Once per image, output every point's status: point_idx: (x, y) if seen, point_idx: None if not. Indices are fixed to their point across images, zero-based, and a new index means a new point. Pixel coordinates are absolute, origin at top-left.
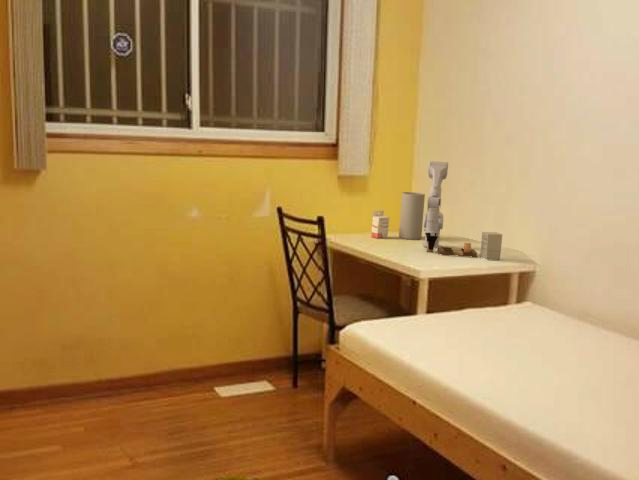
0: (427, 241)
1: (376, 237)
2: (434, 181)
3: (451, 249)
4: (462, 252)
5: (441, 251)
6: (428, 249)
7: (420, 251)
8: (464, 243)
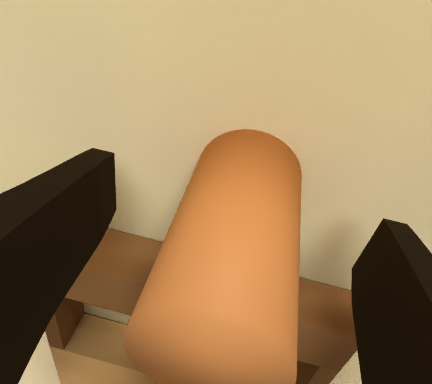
0: (427, 307)
1: None
2: None
3: None
4: (62, 382)
5: None
6: (202, 165)
7: (259, 4)
8: None
